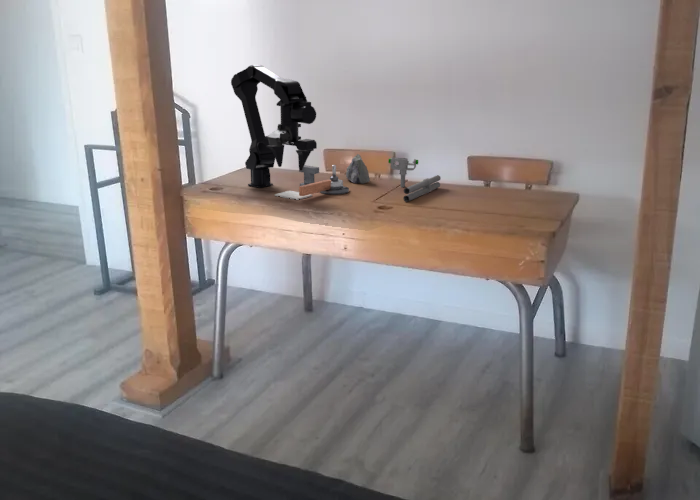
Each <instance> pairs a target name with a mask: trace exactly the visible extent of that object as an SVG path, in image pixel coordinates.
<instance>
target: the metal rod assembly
mask: <svg viewBox="0 0 700 500" xmlns="http://www.w3.org/2000/svg"><path fill="white" fill-rule="evenodd" d="M439 181H441V176H440V174H439V175H438V174H436V175H434V176H433V177H430V178H425V179H423V180H422V181H419V182H417V183H414V184H412V185H410V186H407V187H404V189H403V193H404V196H403V201H404V202H406V203H407V202H410V201H412V200H414V199H417V198H419V197H421V196H424V195H426V193H427V194H429V192H430V193H431V192H432V191H434V190H436V189H438V187H439V188H440V187H441V183H440V182H439Z"/></svg>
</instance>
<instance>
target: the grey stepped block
mask: <svg viewBox="0 0 700 500" xmlns="http://www.w3.org/2000/svg"><path fill="white" fill-rule="evenodd" d="M298 172H299V173H303V182H302V183H299V186H303V185H307V184H311V183H315V175H316V174H320V167H318V166H313V165H312V166H311V165H306V164H305V165H304V167H303V169H302V170H299V169H298Z"/></svg>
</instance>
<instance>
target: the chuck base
mask: <svg viewBox="0 0 700 500" xmlns="http://www.w3.org/2000/svg"><path fill="white" fill-rule="evenodd" d="M349 191H350V187H349V186H348V187H347V186H344V185H343V189H339V190H325V191H321V192H319V193H321V194H323V195H335V196H336V195H345V194H348V193H349Z"/></svg>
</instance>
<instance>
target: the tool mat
mask: <svg viewBox="0 0 700 500" xmlns="http://www.w3.org/2000/svg"><path fill="white" fill-rule="evenodd" d="M274 196H275V197H278V196H280V197H279V198H283V199H289V198H290V199H289V200H294V199H296V200H295V201H299V199H300V200H303V199H307V198H311V197H313V194H310V195H306V196H299V191H293V190H286V191H282V192H278V193H275V194H274Z"/></svg>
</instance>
